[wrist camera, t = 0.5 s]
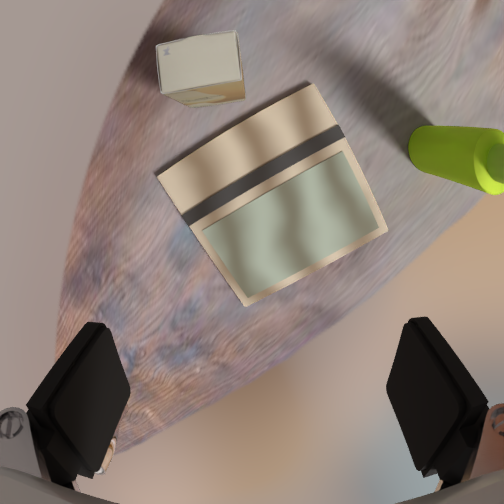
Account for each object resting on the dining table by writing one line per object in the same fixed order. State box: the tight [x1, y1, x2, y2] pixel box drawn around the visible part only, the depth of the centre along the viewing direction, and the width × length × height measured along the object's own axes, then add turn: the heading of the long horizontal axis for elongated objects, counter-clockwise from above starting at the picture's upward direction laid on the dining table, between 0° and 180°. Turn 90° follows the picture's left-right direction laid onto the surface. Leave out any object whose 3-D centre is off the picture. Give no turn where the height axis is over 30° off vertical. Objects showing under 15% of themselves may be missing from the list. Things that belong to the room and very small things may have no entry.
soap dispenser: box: [408, 126, 504, 195], centre depth 22 cm, size 6×7×20 cm
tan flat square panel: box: [157, 84, 389, 307], centre depth 34 cm, size 20×19×1 cm
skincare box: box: [156, 30, 246, 108], centre depth 24 cm, size 6×4×12 cm
